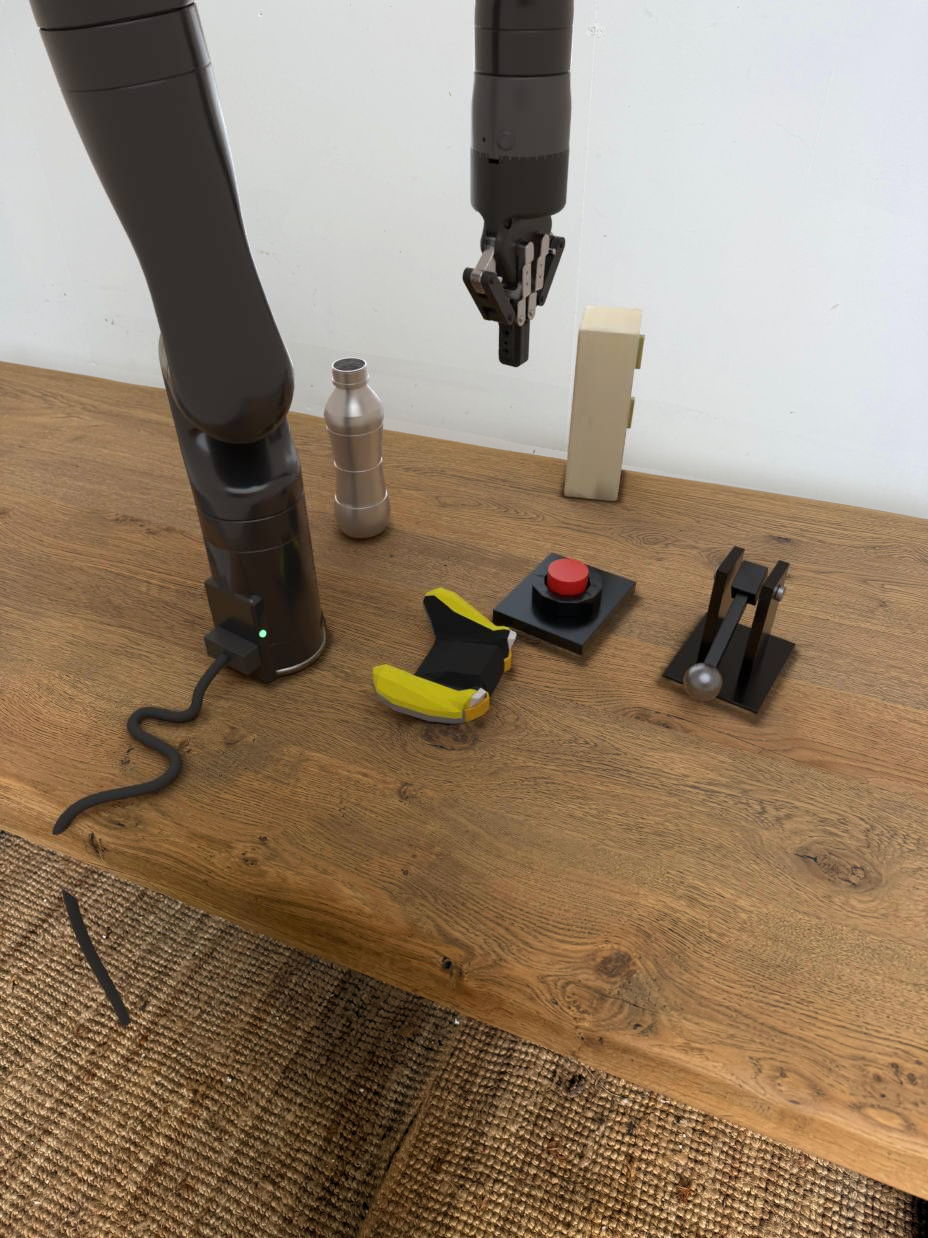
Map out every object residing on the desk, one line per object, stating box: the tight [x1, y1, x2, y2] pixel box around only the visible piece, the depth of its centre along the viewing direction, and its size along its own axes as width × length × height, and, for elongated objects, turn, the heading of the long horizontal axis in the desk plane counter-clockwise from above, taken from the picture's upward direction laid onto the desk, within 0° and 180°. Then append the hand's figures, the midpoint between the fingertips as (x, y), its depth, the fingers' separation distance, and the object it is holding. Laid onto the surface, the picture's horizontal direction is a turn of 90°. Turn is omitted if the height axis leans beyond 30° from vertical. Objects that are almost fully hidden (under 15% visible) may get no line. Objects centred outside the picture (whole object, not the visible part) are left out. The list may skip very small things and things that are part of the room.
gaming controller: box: [371, 587, 517, 725], centre depth 79 cm, size 15×6×10 cm
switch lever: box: [683, 559, 769, 702], centre depth 74 cm, size 13×3×3 cm, turn 147°
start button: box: [547, 558, 589, 595], centre depth 86 cm, size 4×4×2 cm
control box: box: [492, 551, 637, 657], centre depth 87 cm, size 12×10×4 cm
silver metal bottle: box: [323, 357, 392, 539], centre depth 95 cm, size 6×7×20 cm
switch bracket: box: [661, 545, 797, 715], centre depth 78 cm, size 11×9×12 cm
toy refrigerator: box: [563, 304, 646, 502], centre depth 102 cm, size 8×7×21 cm
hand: (513, 362), depth 76 cm, fingers closed
